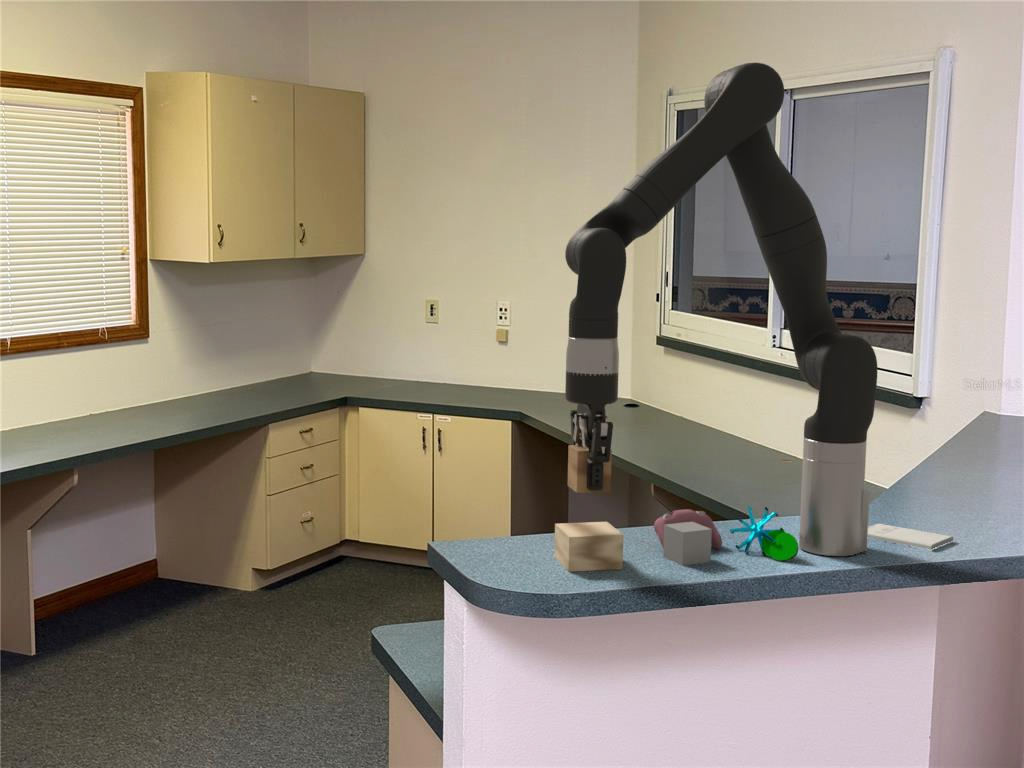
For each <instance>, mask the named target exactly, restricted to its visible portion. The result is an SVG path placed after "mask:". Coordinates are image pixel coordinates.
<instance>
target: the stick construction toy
mask: <svg viewBox="0 0 1024 768" xmlns="http://www.w3.org/2000/svg"><path fill="white" fill-rule="evenodd" d="M752 510H753V507H751V506H750V505H747V511H748V517H749V521H750V523H748V522H746V521H744V520H743V519H742V518H741V517H738V518H737V521H738V522H739V523H741V524H742V525H743V527H739V528H731V529H729V532H730V533H731V534H732V535H733V534H734V533H743V532H744V533H750V534H749V536H748V538H746V539H745V540H744V541H742V542H741V543H740V544H739V545H737V544H736V545H735V548H736V549H737V550H741V549H742V548H743V547H744V546H745V548H744V552H743V553H744V554H745V555H750V554H749V549H750V548H751V545H752V543H753V541H754V540H755V539H757V542H758V544H759V547H760V550H761V554H762V555H763V556H764V557H766V556H767V557H768V558H771V559H773V560H775V561H778V562H787V561H791V560H792V559H794V558H795V557H796V556H798V553H799V543H798V542H799V541H797V539H796V537H795V536H794V535H793V534H791V533H789V532H786V531H785V530H784V528H783V527H780V528H779V529H764V527H765V525H766V524H767V523H768V522H770V521H771V520H772V519H773V518H774V517H778V516H779V514H778V513H777V512H776V511H773V512H772V513H771V514H769V512H770V509H769V508H768V507H767V506H765V507H764V510H765V511H764V513H763V516H762V517H761V520H760V521H759V522H758V523H756V519H755V516H754V513H753V511H752ZM768 514H769V515H768ZM744 526H745V527H744Z"/></svg>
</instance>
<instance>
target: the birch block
mask: <svg viewBox="0 0 1024 768" xmlns="http://www.w3.org/2000/svg"><path fill="white" fill-rule="evenodd" d="M554 558H555V559H556V560H557V561H558V563H560V564H561V566H563V567H564V569H565V570H566V571H567V572H569V573H570V572H587V571H588V572H589V571H590V572H591V571H608V570H623V569H624V567H623V564H624V562H623V559H624V534H623V533H622V532H620V531H619V530H618V529H617V528H615V527H614V526H613V525H612V524H611V523H610V522H608V521H590V522H589V521H588V522H587V521H586V522H567V523H566V522H565V523H561V522H560V523H554Z"/></svg>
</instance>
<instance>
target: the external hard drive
mask: <svg viewBox="0 0 1024 768" xmlns="http://www.w3.org/2000/svg"><path fill="white" fill-rule="evenodd" d="M868 537H869V538H874V539H879V540H884V541H888V542H894V543H900V544H906V545H912V546H917V547H922V548H928V549H933V548H935V547H938V546H940V545H943V544H945V543H948V542H951V541H953V542H954V536H952V535H946V534H940V533H939V534H938V533H934V532H929V531H928V532H927V531H924V530H918V529H911V528H906V527H901V526H900V527H899V526H897V525H896V526H894V525H888V524H885V523H875V524H873V525H870V526H868Z"/></svg>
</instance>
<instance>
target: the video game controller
mask: <svg viewBox="0 0 1024 768" xmlns="http://www.w3.org/2000/svg"><path fill="white" fill-rule="evenodd" d="M684 522H695V523H697V524H700V525H702V526H705V527H708V528H710V529H712V537H711V547H713V548H714V549H716V550H718V551H719V550H721V548H722V547H723V540H722V536H721V534H720V532H719V530H718V529H717V527H716V525H715V523H714V522H713V519H712V518H711V517H710V516H709V515H707V514H706V512H705V511H703V510H699V511H698V510H692V509H686V508H685V509H677V510H673V511H671V512H667V513H664V514H662V515H661V516H660V517H658V518H657V519H656V520H655V521H654V524H653V529H654V532H655V534H656V536H657V537H658V541H659V543H660V545H661V547H662V549H663V550H664V525H666V524H675V523H684Z"/></svg>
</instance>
